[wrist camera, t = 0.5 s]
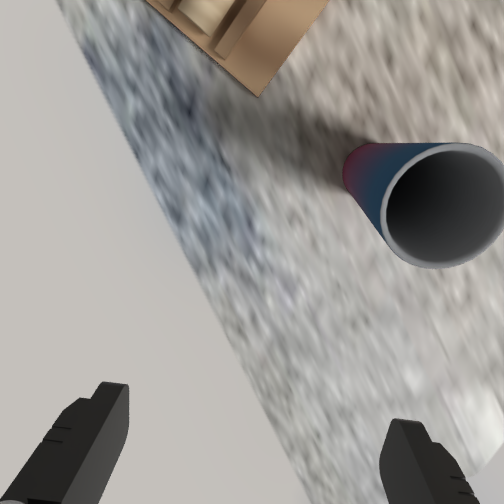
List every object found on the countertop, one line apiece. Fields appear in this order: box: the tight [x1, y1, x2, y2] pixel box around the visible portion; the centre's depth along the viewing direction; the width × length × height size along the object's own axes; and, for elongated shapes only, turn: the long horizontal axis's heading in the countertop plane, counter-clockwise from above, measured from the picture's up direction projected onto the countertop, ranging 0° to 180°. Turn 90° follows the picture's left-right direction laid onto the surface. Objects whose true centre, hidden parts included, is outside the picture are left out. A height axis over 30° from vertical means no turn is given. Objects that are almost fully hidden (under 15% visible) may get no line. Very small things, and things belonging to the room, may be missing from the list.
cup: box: [342, 143, 504, 269], centre depth 26 cm, size 7×7×15 cm
